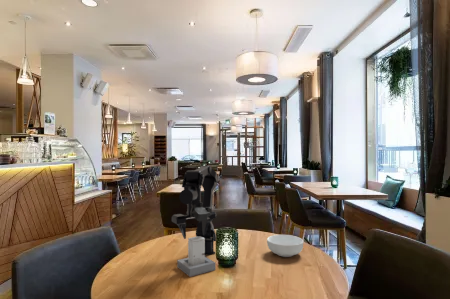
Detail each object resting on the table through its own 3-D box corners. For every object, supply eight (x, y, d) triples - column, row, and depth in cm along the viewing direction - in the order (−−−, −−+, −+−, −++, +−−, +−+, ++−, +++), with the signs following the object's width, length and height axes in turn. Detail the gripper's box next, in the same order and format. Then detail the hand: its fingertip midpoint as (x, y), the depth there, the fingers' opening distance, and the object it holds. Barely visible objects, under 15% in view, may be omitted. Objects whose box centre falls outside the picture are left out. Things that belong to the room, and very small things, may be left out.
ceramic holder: (201, 261, 129) (201, 254, 129) (215, 269, 119) (215, 262, 119) (177, 267, 122) (177, 260, 122) (189, 276, 112) (189, 269, 112)
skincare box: (192, 270, 118) (192, 240, 118) (187, 266, 121) (187, 237, 122) (205, 266, 121) (205, 238, 121) (200, 263, 125) (200, 235, 125)
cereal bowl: (263, 257, 132) (263, 242, 132) (271, 247, 148) (271, 233, 148) (301, 262, 126) (300, 246, 126) (305, 250, 141) (305, 236, 142)
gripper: (182, 205, 110) (182, 246, 110) (222, 200, 121) (223, 237, 120) (170, 201, 120) (171, 239, 119) (209, 197, 130) (209, 231, 130)
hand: (194, 236), depth 122 cm, fingers open, 9 cm apart
